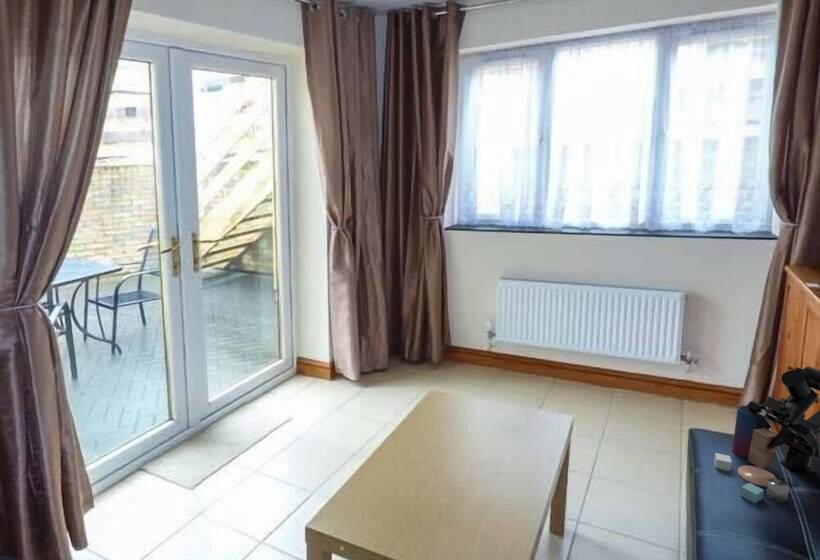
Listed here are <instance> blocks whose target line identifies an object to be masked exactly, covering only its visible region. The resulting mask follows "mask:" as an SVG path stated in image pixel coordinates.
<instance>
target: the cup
mask: <svg viewBox="0 0 820 560" xmlns="http://www.w3.org/2000/svg"><path fill="white" fill-rule="evenodd" d="M746 405H747V404H746ZM746 405H745V404H743V405H741V404H739V405H738V406H737V408H736V409H737V410H736V418H735V425H734V433H733V440H732V441H733V443H732V453H733V454H734V455H736V456H738V455H739V456H738V457H740V456H741V458H745V457H748V456H749V451H750V446H751V441H752V436H753V431H754V430H755V428H756V425H757V418H756V415H752V413H751V412H750V411H749V409H748V408H747V407H746Z"/></svg>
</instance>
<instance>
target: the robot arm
mask: <svg viewBox="0 0 820 560" xmlns="http://www.w3.org/2000/svg"><path fill="white" fill-rule="evenodd" d="M780 379H781V382H782V385H783V387H784V388H785V390H786V392H787V393H788V395H787V397H786V398H784V397H782V398H780V399H779V400H778V399H776V398H774V397H771V396H770V395H769V396H767V398H766V400H765V401H764V403H763V404H762V403H759V402H757V401H755V400H752V401H749V402H748V403H747V404H746V407H747V408H748V409H749V411H750V412H751V413H752V415H756V418H757V425H756V428H755V429H761V428H767V429H768V430H771V428H772V426H771V425H770V422H773V423H775V424H777V425H778V426H779V427H780V430H779V432H778V433H776V434H777V436H776V437H775V438H774V439H773V440H772V441H771V442H770V443H769V445H768V446H767V448H768V449H772V448H775V447H777V448H778V447H781V446H783V445H786V446H788V448H787V452H786V455H785V459H784V460H780V464H782V465H784V466H785V467H787V468H789V469H790V470H792V471H793V472H795V473H797V474H807V473H812V472H814V473H815V472H816V468H815V469H814V468H813V467H811V466H812V463H813V458H814V457H815V458H819V457H820V409H818V410H817V411H816V412H815V413H814V414H812V415H811V416H809V417H808V418H807V419H805V418H806V415H805V414H806V412H807V411H808V410H809V409H810V408H811V407H812V405H813V404H814V403H815V404H819V402H820V401H819V400H820V399H819V394H818V393H817V392H815V390H816V391H819V392H820V369H819V368H815V367H811V366H809V365H808V366H806V367H804V368H801V367H798V366H797V367H796V368H795V369H793V370H788V371H785V372H784V373H783V374H782V375H781V378H780ZM767 408H769V410H768V409H767ZM769 411H770V412H769Z"/></svg>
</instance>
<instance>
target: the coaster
mask: <svg viewBox="0 0 820 560" xmlns="http://www.w3.org/2000/svg"><path fill="white" fill-rule="evenodd" d="M737 474H738V475H740V476H741V477H742V478H741V477H740V476H739V477H740V478H741V479H743V480H744V481H746V482H747V481H748V483H749V482H750V483H751V484H753V485H754V484H755V486H758V485H759V486H758V487H762V486H763V487H764V488H767V484H768V480H769V479H778V478H777V477H776V475H774V474H773V473H771V472H770V471H768V470H766V469H765V468H763V469H761V468H759V467H757V466H755V465H741V466H739V467H738V468H737ZM763 487H762V488H763Z"/></svg>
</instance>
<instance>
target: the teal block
mask: <svg viewBox="0 0 820 560" xmlns="http://www.w3.org/2000/svg"><path fill="white" fill-rule="evenodd" d="M764 493H765V489H763V488H761V487H760V486H758V485H754V484H752V483H749V482H748V483H746V484H745V485H743V486H741V489H740V494H739V497H741V496H742V497H741V498H743V497H744V499H745V498H746V499H745V500H747V499H748V500H747V501H749V500H750V501H749V502H751V501H752V502H751V503H753V502H754V503H755V504H757V503H758V502H757V501H759V500H760V501H762V500H763V498H764ZM761 499H762V500H761ZM760 501H759V502H760ZM756 502H757V503H756ZM754 503H753V504H754Z"/></svg>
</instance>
